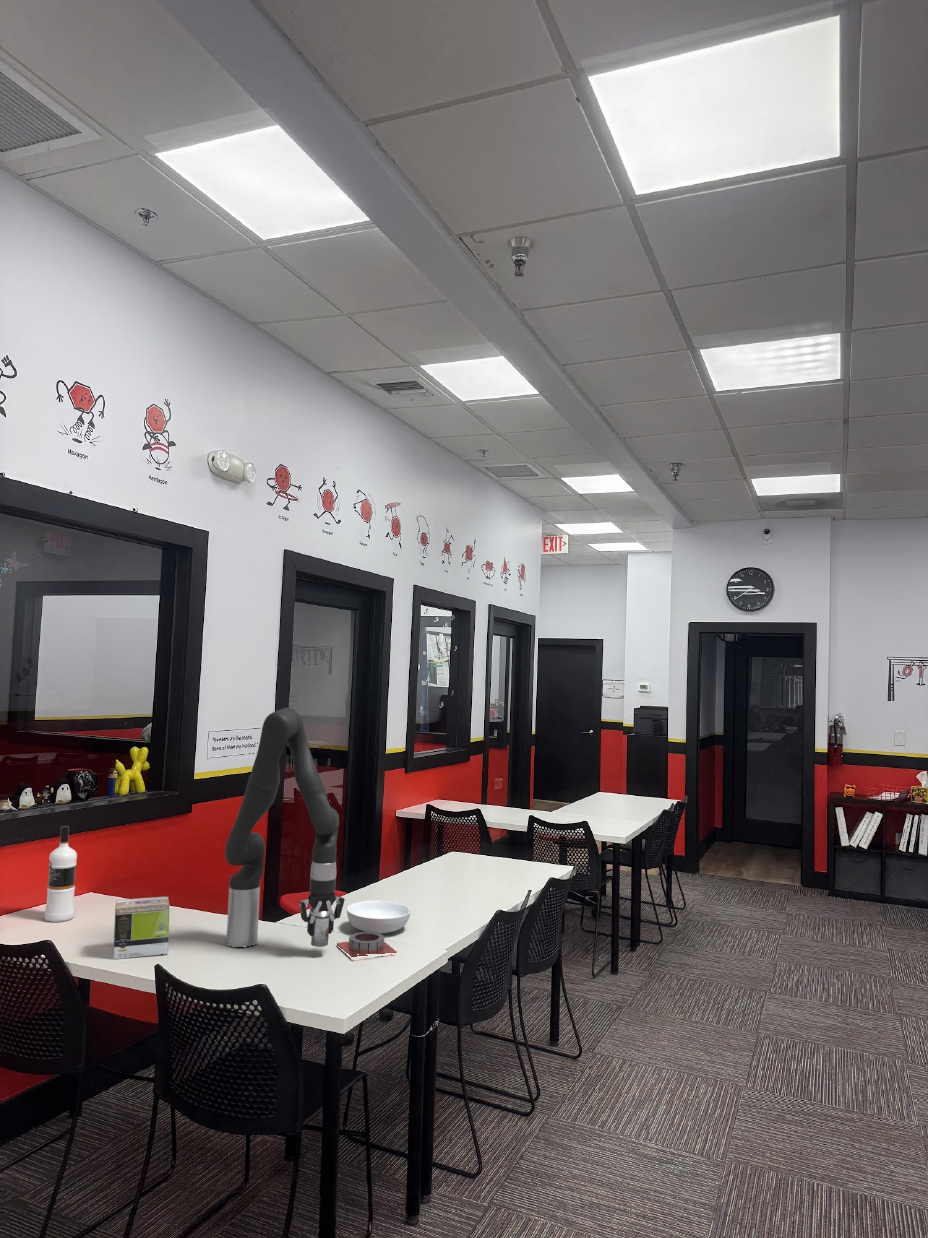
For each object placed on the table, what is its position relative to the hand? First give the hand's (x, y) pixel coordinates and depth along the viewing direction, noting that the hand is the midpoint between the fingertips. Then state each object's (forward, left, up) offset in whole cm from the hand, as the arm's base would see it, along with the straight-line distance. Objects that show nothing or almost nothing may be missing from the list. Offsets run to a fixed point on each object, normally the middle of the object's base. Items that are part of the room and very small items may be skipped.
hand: (319, 934), depth 254 cm
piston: (0, 0, -3) cm, 3 cm away
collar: (+1, +15, -6) cm, 16 cm away
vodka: (-65, -67, -7) cm, 94 cm away
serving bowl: (-17, +26, -7) cm, 31 cm away
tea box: (-22, -47, -7) cm, 53 cm away
